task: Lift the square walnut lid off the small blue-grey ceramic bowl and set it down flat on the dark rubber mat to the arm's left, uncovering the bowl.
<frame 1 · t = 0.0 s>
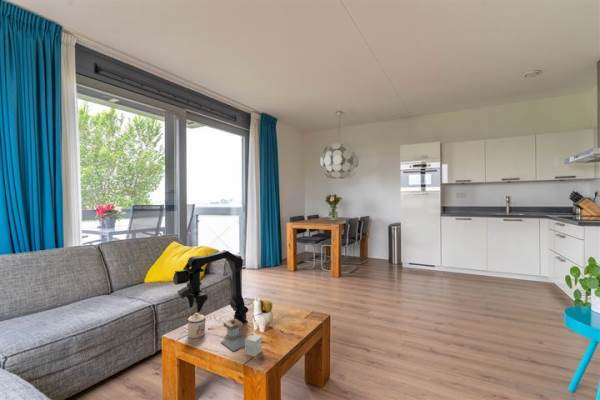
hand: (194, 309, 156), 15 cm above the table, fingers open, 9 cm apart
teacup with lid: (198, 333, 161), on the table
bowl: (233, 333, 161), on the table
mat: (237, 343, 150), on the table
skincare box: (253, 352, 141), on the table
lid: (233, 326, 161), point 4 cm above the table, touching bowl
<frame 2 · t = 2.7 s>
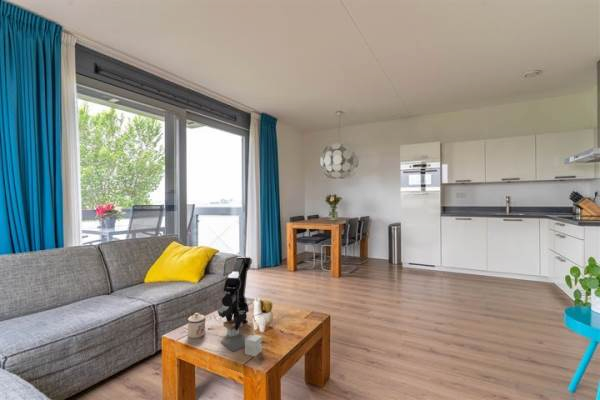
hand: (233, 327, 161), 3 cm above the table, fingers closed on lid, 7 cm apart
lid: (233, 326, 161), point 4 cm above the table, touching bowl, gripper
everything else where it was.
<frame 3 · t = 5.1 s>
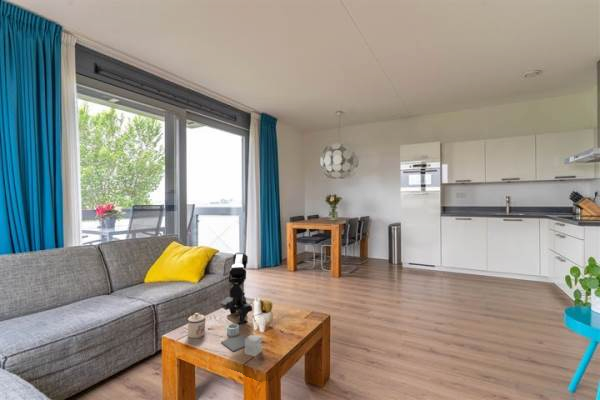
hand: (237, 321, 150), 11 cm above the table, fingers closed on lid, 7 cm apart
lid: (237, 319, 150), point 12 cm above the table, touching gripper
everything else where it was.
when the fingers open (2 cm above the table, at t = 7.7 s): lid drops 2 cm, resting on mat.
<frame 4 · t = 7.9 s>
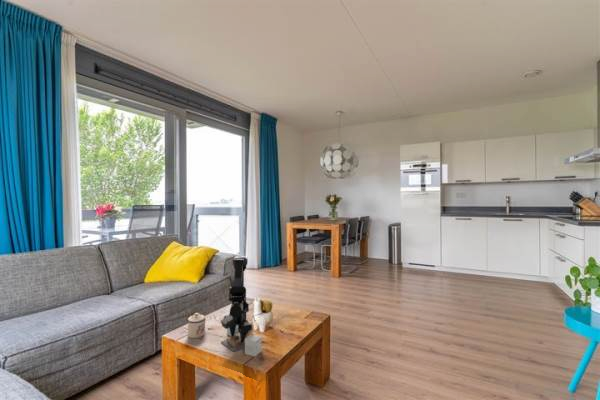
hand: (237, 339, 150), 2 cm above the table, fingers open, 9 cm apart
lid: (237, 342, 150), point 1 cm above the table, touching mat
everything else where it was.
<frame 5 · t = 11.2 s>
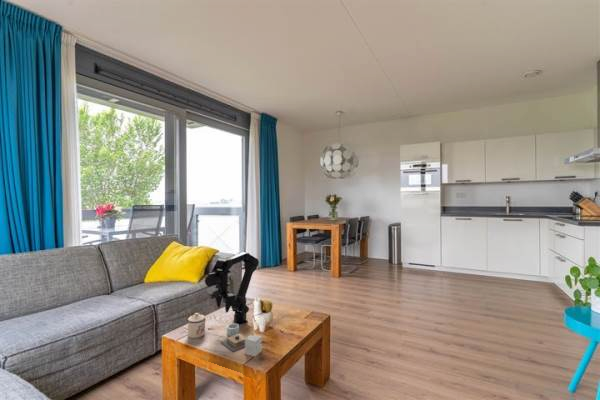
hand: (222, 309, 163), 12 cm above the table, fingers open, 9 cm apart
nothing on the table moved.
at the end: lid inside the target area on the mat (0.1 cm from its centre), point 0.6 cm above the mat's base; lid touching mat; lid tilted 0° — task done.
